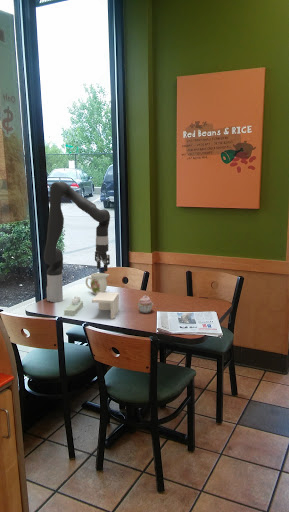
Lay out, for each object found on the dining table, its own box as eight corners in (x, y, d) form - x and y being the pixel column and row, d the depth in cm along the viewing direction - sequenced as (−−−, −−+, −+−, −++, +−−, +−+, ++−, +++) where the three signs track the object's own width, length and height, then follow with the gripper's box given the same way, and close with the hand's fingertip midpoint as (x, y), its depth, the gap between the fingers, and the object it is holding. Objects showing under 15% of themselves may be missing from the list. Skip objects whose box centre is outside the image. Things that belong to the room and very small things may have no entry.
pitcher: (90, 290, 289) (89, 270, 286) (113, 292, 282) (112, 273, 279) (81, 294, 279) (81, 274, 276) (105, 297, 272) (105, 276, 269)
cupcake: (142, 315, 236) (142, 298, 235) (134, 310, 244) (134, 294, 243) (156, 312, 241) (156, 296, 239) (148, 308, 249) (148, 292, 247)
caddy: (74, 316, 235) (74, 305, 234) (64, 316, 236) (63, 305, 234) (83, 306, 252) (82, 296, 251) (73, 306, 253) (73, 296, 252)
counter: (92, 317, 232) (92, 299, 230) (99, 309, 247) (98, 292, 245) (113, 318, 230) (113, 300, 228) (118, 309, 246) (118, 292, 244)
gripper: (90, 242, 249) (91, 268, 252) (102, 245, 238) (102, 273, 241) (101, 241, 253) (101, 266, 256) (113, 244, 242) (113, 271, 245)
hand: (102, 269), depth 249 cm, fingers open, 8 cm apart
